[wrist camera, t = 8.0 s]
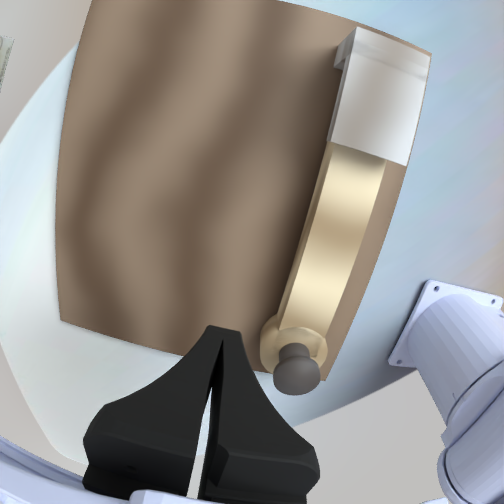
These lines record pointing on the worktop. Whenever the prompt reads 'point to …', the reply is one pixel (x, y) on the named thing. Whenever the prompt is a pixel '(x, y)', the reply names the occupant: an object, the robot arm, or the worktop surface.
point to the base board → (217, 161)
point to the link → (320, 268)
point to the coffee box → (4, 54)
